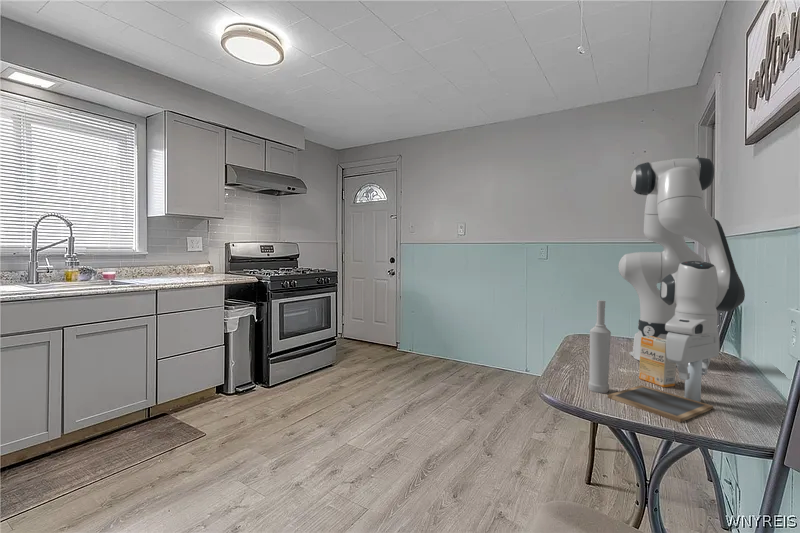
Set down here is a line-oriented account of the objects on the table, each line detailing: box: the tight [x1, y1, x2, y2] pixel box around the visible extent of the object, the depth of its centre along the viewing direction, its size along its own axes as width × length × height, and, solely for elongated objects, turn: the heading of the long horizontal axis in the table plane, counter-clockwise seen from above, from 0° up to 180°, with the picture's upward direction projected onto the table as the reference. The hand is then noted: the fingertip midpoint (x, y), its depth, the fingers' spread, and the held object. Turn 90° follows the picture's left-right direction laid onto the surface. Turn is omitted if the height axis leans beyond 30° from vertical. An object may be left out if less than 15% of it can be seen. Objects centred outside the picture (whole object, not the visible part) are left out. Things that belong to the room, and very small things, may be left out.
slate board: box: [607, 384, 714, 423], centre depth 99 cm, size 16×17×1 cm
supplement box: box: [638, 336, 677, 388], centre depth 115 cm, size 8×5×13 cm, turn 18°
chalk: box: [683, 360, 703, 402], centre depth 101 cm, size 3×3×12 cm
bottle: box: [587, 299, 612, 394], centre depth 107 cm, size 5×5×25 cm
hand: (693, 376), depth 101 cm, fingers open, 8 cm apart
